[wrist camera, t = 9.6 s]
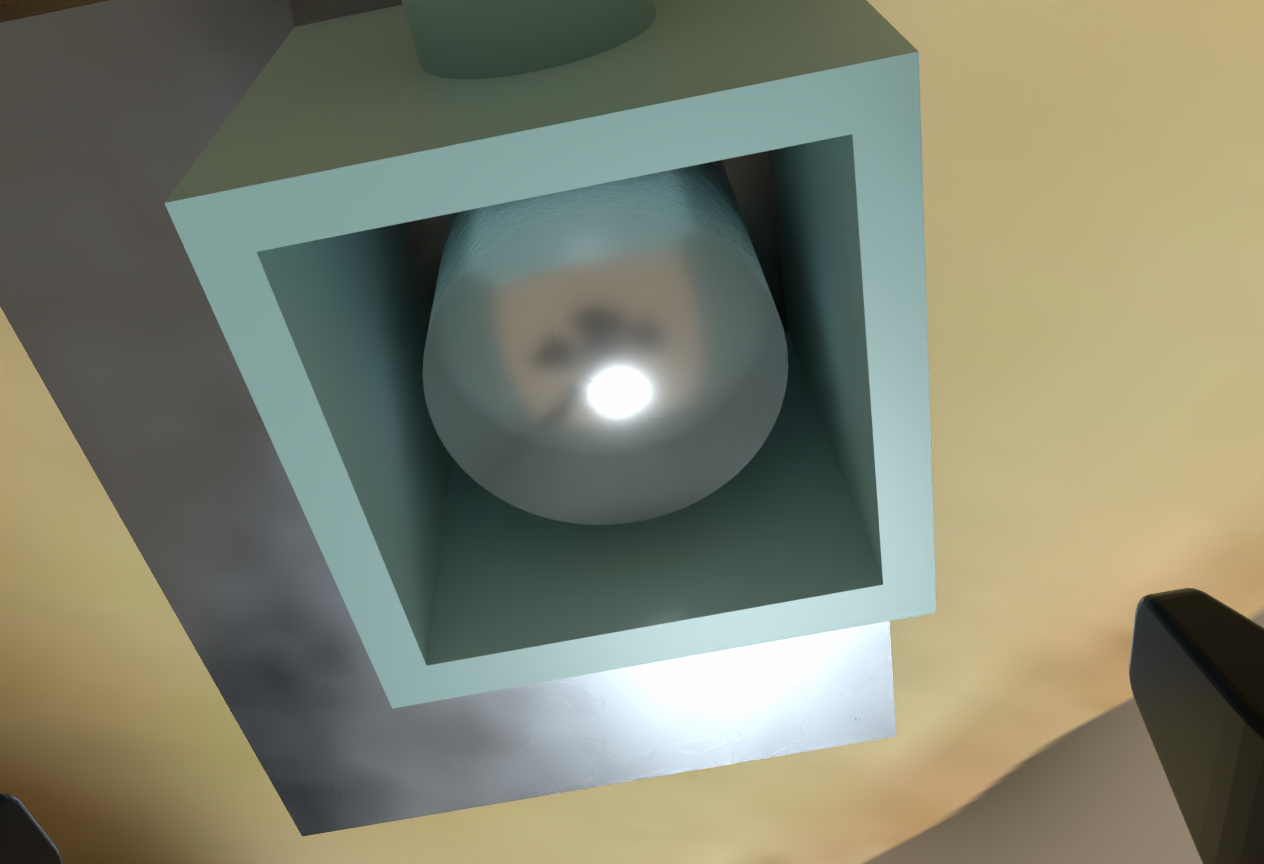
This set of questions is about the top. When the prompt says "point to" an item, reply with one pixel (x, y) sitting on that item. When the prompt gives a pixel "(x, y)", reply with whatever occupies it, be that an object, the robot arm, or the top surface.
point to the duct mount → (457, 404)
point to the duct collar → (544, 164)
